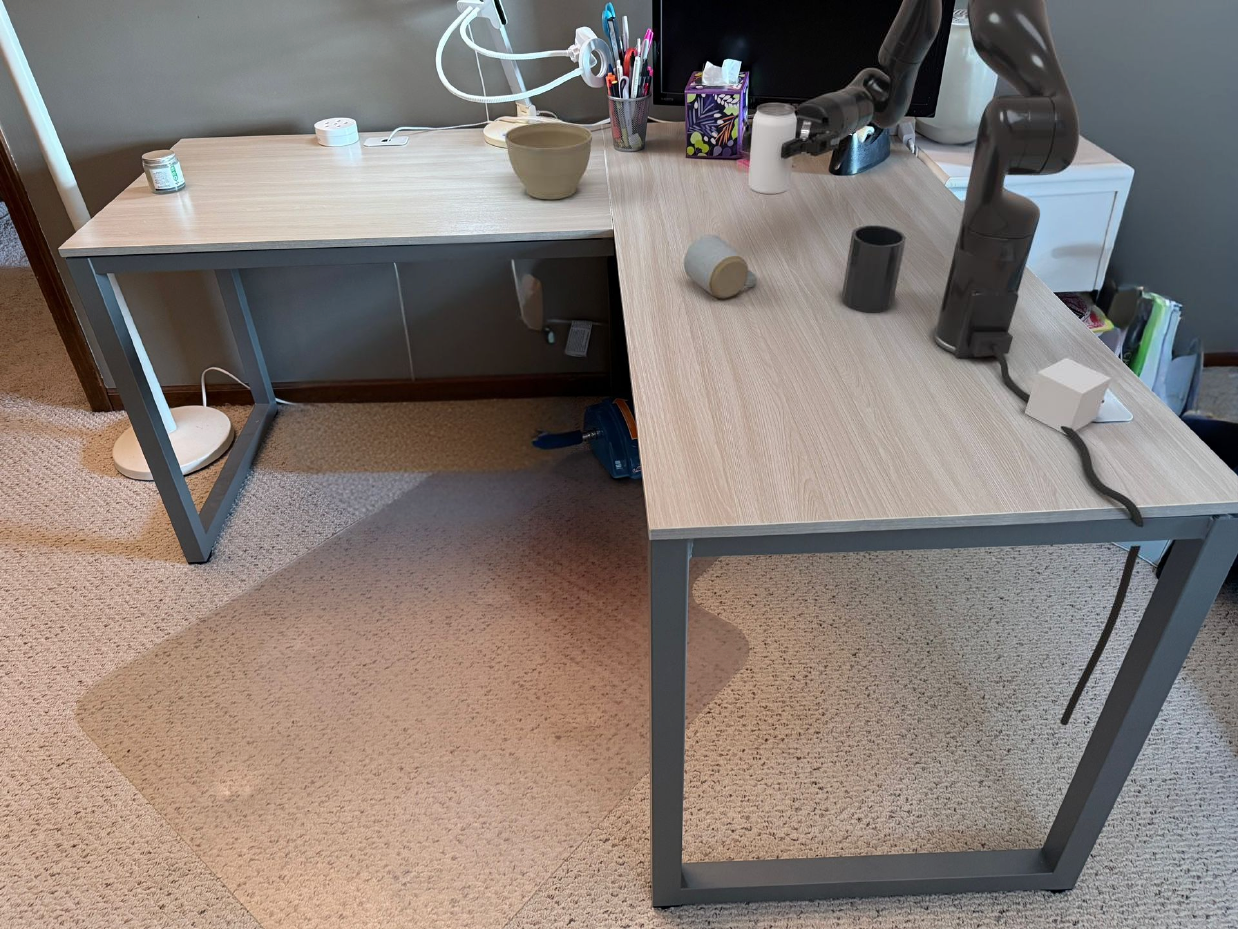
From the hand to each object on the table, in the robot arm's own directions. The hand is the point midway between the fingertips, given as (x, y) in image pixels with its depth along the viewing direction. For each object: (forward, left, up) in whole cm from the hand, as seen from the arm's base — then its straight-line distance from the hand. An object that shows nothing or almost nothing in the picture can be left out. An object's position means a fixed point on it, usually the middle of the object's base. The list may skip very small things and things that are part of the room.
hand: (763, 146), depth 136 cm
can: (+2, -2, -7) cm, 8 cm away
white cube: (-44, -32, -20) cm, 58 cm away
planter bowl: (+36, +33, -20) cm, 53 cm away
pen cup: (-12, -16, -20) cm, 28 cm away
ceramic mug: (-7, +6, -20) cm, 22 cm away
